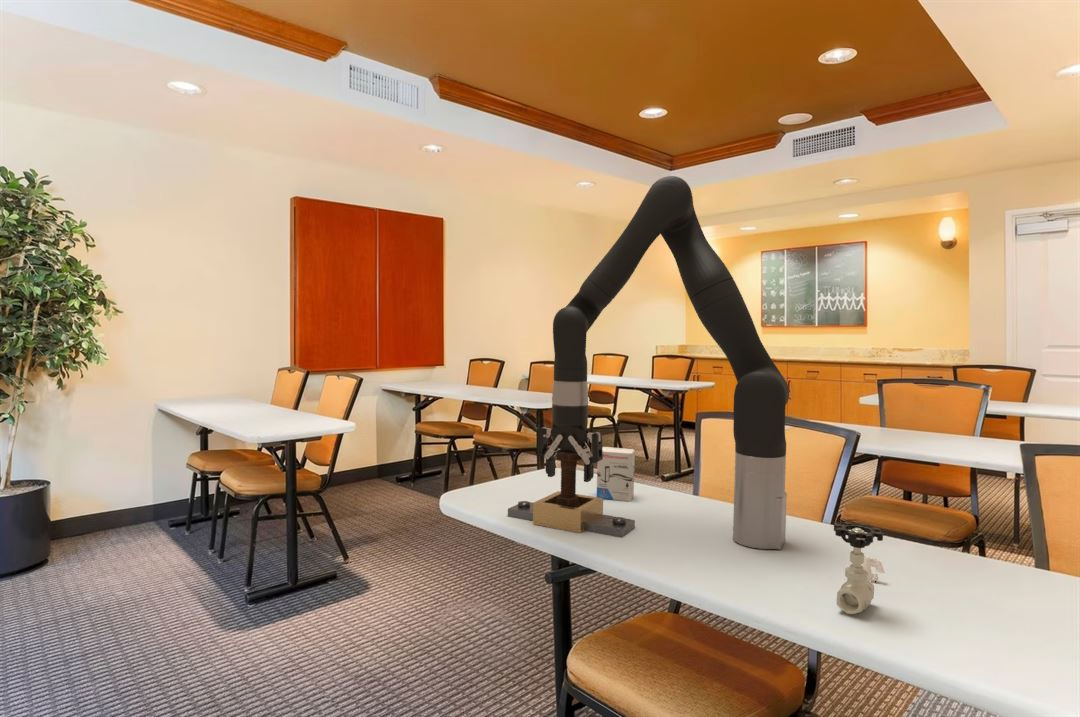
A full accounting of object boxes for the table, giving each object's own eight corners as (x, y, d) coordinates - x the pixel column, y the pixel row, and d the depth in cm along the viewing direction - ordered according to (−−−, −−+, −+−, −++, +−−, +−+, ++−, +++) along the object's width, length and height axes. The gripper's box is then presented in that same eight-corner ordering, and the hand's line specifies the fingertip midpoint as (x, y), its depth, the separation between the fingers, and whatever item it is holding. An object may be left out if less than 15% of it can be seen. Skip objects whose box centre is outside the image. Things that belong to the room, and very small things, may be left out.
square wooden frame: (602, 518, 134) (603, 498, 134) (580, 533, 125) (580, 510, 124) (557, 511, 140) (557, 491, 139) (532, 524, 130) (533, 502, 130)
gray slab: (555, 513, 138) (555, 502, 138) (539, 522, 132) (539, 510, 131) (524, 508, 142) (524, 497, 141) (507, 516, 136) (507, 505, 135)
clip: (885, 583, 102) (886, 560, 101) (880, 586, 100) (881, 563, 100) (853, 573, 105) (854, 551, 105) (848, 576, 104) (849, 554, 104)
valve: (885, 608, 92) (888, 528, 92) (873, 623, 87) (876, 539, 87) (838, 595, 97) (840, 518, 96) (824, 609, 92) (826, 528, 91)
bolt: (580, 525, 129) (581, 454, 129) (555, 525, 129) (556, 453, 129) (579, 517, 135) (580, 448, 134) (555, 516, 135) (556, 448, 135)
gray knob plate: (634, 527, 129) (634, 516, 128) (621, 537, 122) (621, 525, 122) (594, 520, 133) (595, 509, 133) (580, 529, 127) (580, 517, 127)
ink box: (595, 498, 151) (596, 450, 150) (599, 493, 155) (600, 446, 155) (631, 501, 148) (632, 452, 147) (634, 496, 153) (635, 448, 152)
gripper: (608, 402, 131) (607, 479, 131) (548, 398, 138) (548, 471, 138) (593, 406, 124) (592, 487, 125) (531, 401, 131) (530, 478, 132)
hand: (569, 478), depth 132 cm, fingers open, 8 cm apart
